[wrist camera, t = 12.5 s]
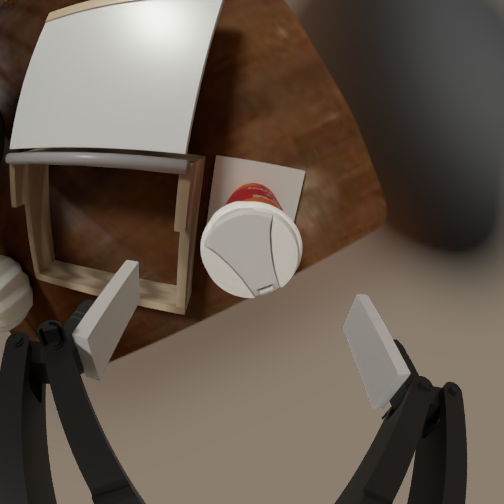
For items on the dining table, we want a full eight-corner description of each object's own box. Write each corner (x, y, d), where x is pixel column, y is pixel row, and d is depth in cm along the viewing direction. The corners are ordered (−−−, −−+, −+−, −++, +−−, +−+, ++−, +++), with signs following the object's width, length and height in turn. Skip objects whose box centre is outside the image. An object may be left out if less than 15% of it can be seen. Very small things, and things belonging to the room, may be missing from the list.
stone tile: (205, 236, 37) (204, 238, 37) (216, 155, 33) (216, 155, 32) (286, 249, 38) (286, 251, 38) (304, 170, 33) (305, 171, 33)
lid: (28, 157, 28) (5, 164, 23) (52, 15, 19) (32, 7, 14) (195, 167, 29) (184, 175, 25) (229, -8, 20) (225, -28, 16)
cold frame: (51, 264, 40) (26, 287, 32) (44, 147, 31) (9, 155, 24) (191, 294, 41) (179, 328, 34) (206, 156, 33) (192, 163, 26)
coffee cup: (295, 222, 36) (318, 283, 22) (236, 245, 37) (226, 315, 24) (270, 162, 33) (280, 186, 19) (208, 188, 34) (177, 231, 20)
